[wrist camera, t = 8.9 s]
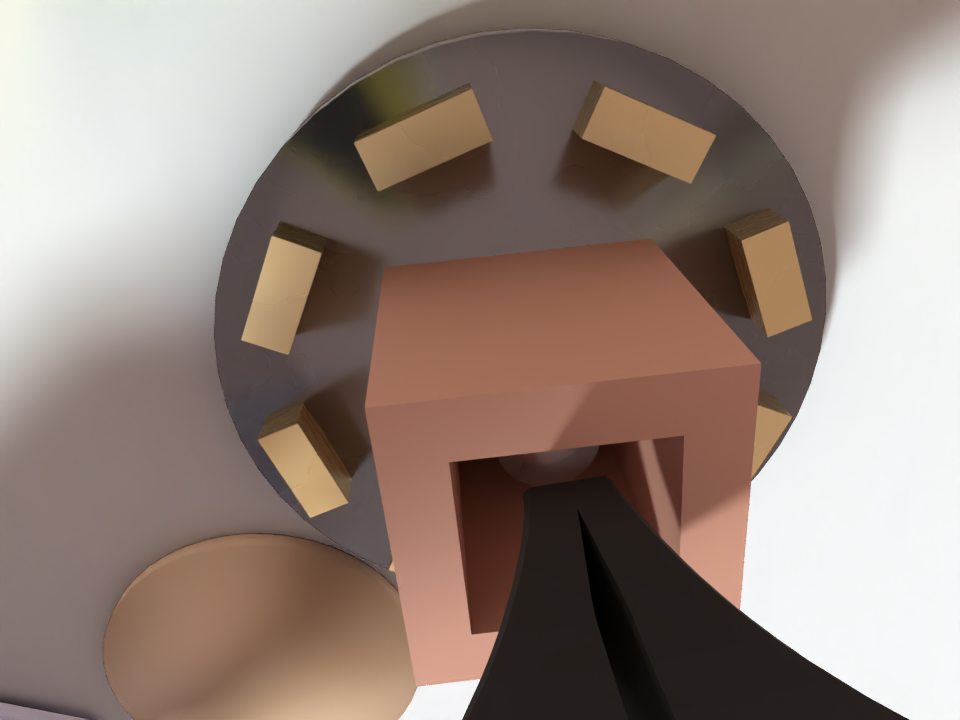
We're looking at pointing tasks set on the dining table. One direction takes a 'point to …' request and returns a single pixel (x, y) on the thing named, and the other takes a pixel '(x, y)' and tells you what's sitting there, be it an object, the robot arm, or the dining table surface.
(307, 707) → the cork coaster
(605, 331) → the pink square tube
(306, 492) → the hub
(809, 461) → the dining table surface
